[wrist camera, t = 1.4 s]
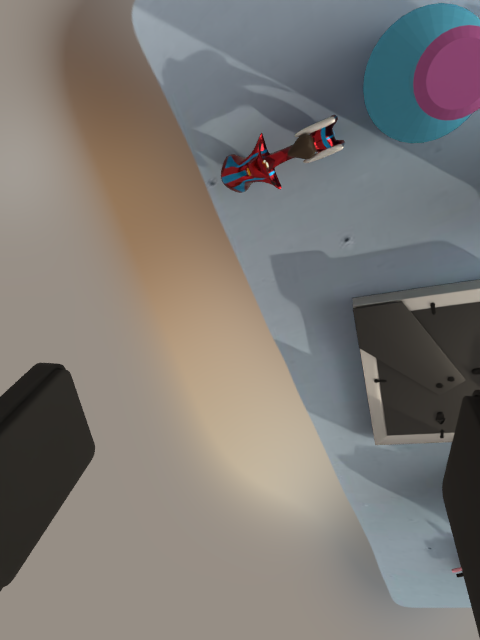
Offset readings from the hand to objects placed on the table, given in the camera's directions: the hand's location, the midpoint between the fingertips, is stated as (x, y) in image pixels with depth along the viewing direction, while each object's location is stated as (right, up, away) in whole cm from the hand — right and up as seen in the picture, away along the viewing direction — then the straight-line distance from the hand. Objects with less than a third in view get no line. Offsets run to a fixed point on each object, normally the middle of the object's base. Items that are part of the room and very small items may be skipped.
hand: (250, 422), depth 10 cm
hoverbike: (+4, +19, +31) cm, 36 cm away
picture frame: (+23, -3, +39) cm, 45 cm away
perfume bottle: (+15, +23, +26) cm, 38 cm away
